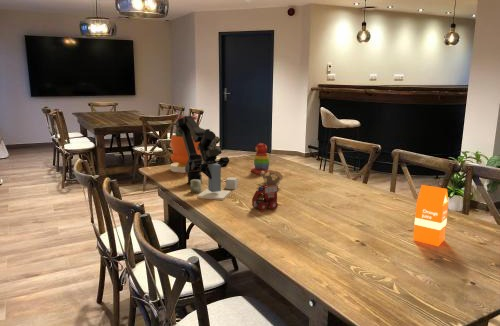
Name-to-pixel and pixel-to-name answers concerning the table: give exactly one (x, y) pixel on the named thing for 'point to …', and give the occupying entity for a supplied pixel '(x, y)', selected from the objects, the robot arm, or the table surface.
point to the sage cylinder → (195, 186)
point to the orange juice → (431, 215)
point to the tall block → (214, 177)
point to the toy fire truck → (265, 198)
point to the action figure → (271, 177)
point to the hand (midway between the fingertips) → (215, 178)
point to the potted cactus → (180, 150)
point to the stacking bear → (261, 159)
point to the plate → (214, 194)
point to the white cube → (231, 183)
